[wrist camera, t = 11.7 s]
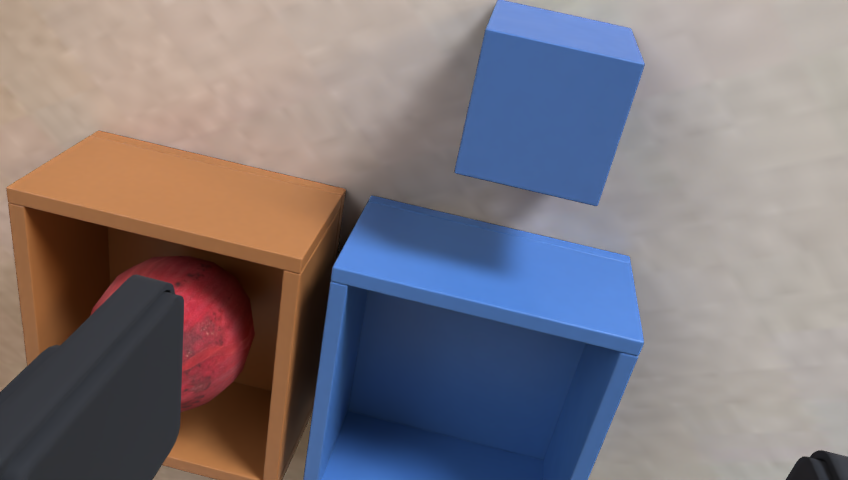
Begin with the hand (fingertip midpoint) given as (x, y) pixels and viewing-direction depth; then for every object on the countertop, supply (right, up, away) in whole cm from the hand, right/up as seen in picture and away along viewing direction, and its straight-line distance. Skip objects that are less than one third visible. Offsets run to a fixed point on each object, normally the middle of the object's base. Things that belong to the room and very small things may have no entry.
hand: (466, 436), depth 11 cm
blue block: (+4, +9, +14) cm, 17 cm away
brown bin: (-10, +1, +21) cm, 23 cm away
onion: (-9, +1, +20) cm, 22 cm away
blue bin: (+1, -1, +20) cm, 20 cm away
